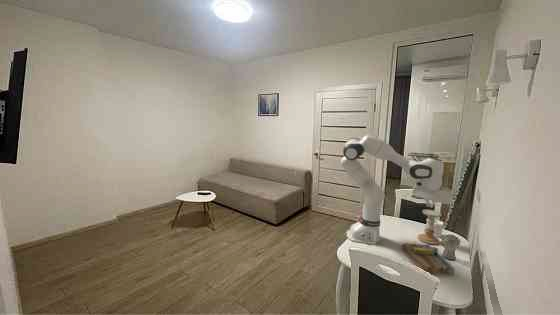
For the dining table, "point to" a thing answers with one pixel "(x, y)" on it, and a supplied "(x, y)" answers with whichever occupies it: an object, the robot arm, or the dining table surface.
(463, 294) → the dining table surface
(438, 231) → the white cup
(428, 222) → the candle holder
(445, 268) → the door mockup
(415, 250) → the lock bar
